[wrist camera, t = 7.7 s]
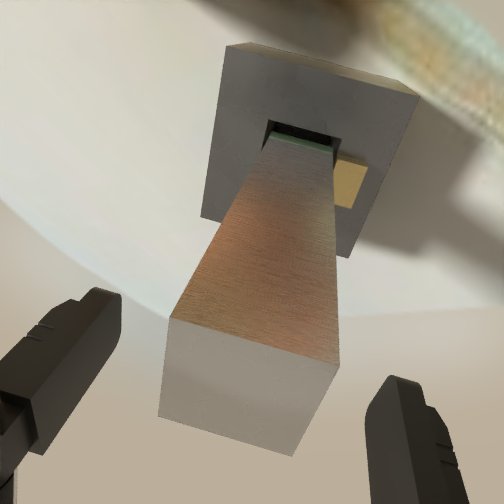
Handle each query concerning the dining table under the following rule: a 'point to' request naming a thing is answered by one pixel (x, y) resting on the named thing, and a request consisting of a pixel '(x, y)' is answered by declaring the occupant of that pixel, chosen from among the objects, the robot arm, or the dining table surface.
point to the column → (261, 307)
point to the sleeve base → (306, 127)
